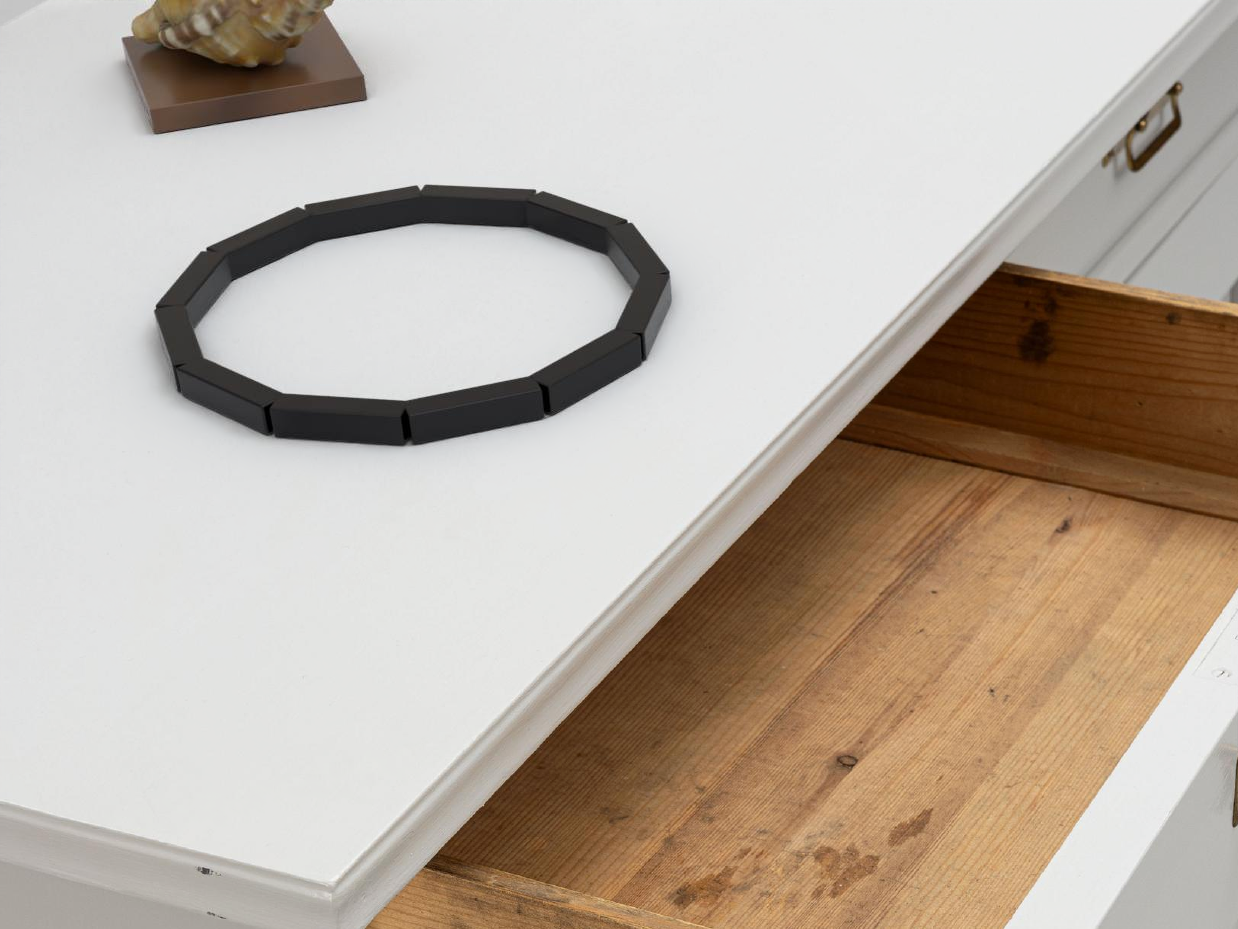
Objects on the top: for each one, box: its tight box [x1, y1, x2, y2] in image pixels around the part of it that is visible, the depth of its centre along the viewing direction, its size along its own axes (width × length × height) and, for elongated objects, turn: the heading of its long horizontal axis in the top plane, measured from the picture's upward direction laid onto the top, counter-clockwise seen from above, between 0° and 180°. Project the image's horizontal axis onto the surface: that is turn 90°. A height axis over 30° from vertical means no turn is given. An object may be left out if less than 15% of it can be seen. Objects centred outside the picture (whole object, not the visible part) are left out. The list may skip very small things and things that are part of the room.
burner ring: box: [153, 184, 673, 446], centre depth 86 cm, size 19×19×1 cm
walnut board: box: [121, 9, 368, 134], centre depth 106 cm, size 10×10×1 cm
